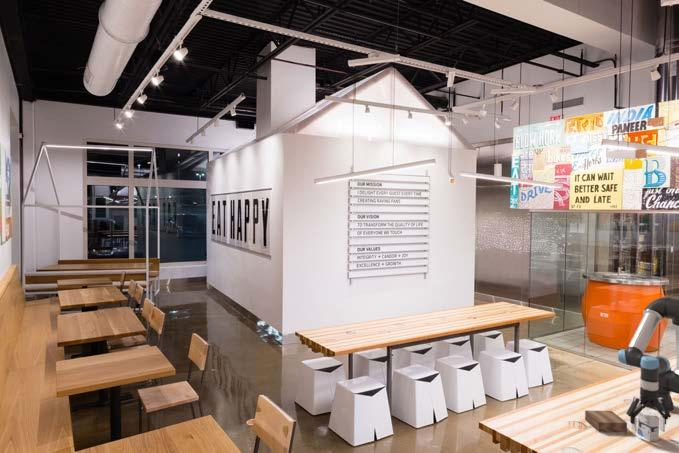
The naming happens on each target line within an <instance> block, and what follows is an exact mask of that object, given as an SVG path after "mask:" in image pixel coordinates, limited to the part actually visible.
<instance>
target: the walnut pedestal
mask: <svg viewBox="0 0 679 453" xmlns="http://www.w3.org/2000/svg"><path fill="white" fill-rule="evenodd" d="M584 420H585V421H586V422H587V423H588V424H590V426H591V427H593V428H594V429H595V430H596V431H597V432H598V433H627V432H628V422H627V421H625V420H624V419H623V418H621V417H620V416H619V415H617V414H616V413H615V412H614V411H612V410H584Z"/></svg>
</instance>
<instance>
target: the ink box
mask: <svg viewBox="0 0 679 453" xmlns="http://www.w3.org/2000/svg"><path fill="white" fill-rule="evenodd" d="M659 427H660V416H657V415H656V414H655V413H653V412H651V411H649V410H648V409H647V410H646V409H645V410H643V409H642V411H641V412H640V413H639V414H638V415H637V433H638V435H640V436H642V437H643V438H645V439H646V440H647V441H649V442H652V441H653V442H654V441H655V442H658V441H659V438H660V437H659V433H660V432H659V431H660V429H659Z"/></svg>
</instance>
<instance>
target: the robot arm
mask: <svg viewBox="0 0 679 453" xmlns="http://www.w3.org/2000/svg"><path fill="white" fill-rule="evenodd" d="M664 319H669V320H671V324H673V326H674V327H675V356H676V358H675V360H676V367H674V368H673V369H672V368H671V362H670V361H669V359H668V358H666V357H664V356H661V355H660V356H659V355H658V356H653V355H650V354H649V355H648V354H644V353H645V351H646V349H647V347H648V345H649V342H650V340H651V338H652V337H653V334H654V333H655V331H656V328H657V327H658V325H659V323H661V322H662V321H663V320H664ZM617 360H618V362H619V363H620V364H623V365H626V366H630V367H634V368H637V369H640V385H639V386H640V387H639V396H640V397H636V396H633V400H632V402H631V404H630V406H629V407H628V410H627V411H626V413H625V414H626V415H627V416H628V417H630V423H631V430H633V431H634V432H638V414H639V413H640V412H641V411H643V409H645V408H650V409H653V410H656V411H657V413H659V415H660V416H659V431H661V432H662V433H665V428H666V427H665V426H666V425H667V420H669V418H671V417H672V415H671V413H670V411H673V410H674V402H673V398H672V395H671V393H675V394H677V395H679V298H674V297H668V296H665V297H663V296H662V297H659V298H657V299H654V300H653V301H651V302H650V303H648V305H646V307H645V308H644V310H643V312H642V318H641V320H640V322H639V324H638V326H637V328H636V330H635V332H634V334H633V336H632V337H631V340H630V342H629V343H628V346H627V348H626V349H623V348H622V349H620V350H618V353H617Z"/></svg>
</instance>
